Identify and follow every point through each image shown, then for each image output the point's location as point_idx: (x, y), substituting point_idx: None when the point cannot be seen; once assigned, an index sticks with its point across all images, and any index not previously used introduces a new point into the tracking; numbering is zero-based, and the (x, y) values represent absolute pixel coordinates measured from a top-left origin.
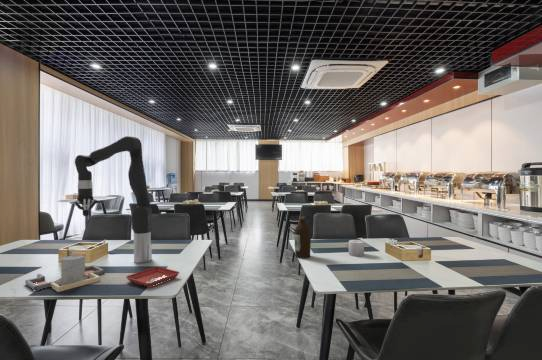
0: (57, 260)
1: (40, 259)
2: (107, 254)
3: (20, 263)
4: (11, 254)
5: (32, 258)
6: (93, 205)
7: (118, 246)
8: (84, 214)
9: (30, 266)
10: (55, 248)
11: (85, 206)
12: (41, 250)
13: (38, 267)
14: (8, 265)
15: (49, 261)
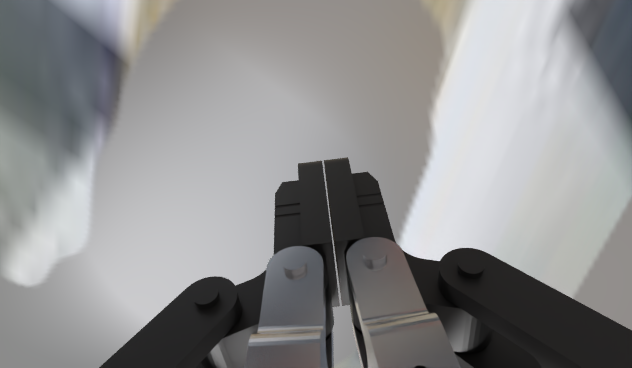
0: (437, 111)
1: (483, 199)
2: (140, 34)
3: (577, 182)
4: None
5: (497, 243)
6: (123, 362)
7: (49, 214)
8: (361, 184)
9: (587, 76)
10: (354, 357)
11: (373, 322)
12: None
13: (578, 11)
14: (625, 181)
15: (474, 120)
